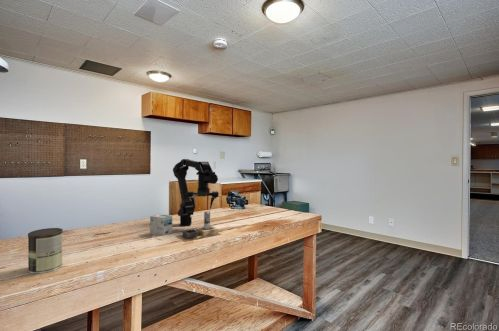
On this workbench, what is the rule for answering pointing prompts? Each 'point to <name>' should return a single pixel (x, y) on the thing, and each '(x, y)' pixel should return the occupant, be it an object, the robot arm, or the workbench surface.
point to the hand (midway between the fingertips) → (202, 208)
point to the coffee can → (44, 250)
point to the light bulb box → (160, 224)
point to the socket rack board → (198, 234)
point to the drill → (206, 220)
